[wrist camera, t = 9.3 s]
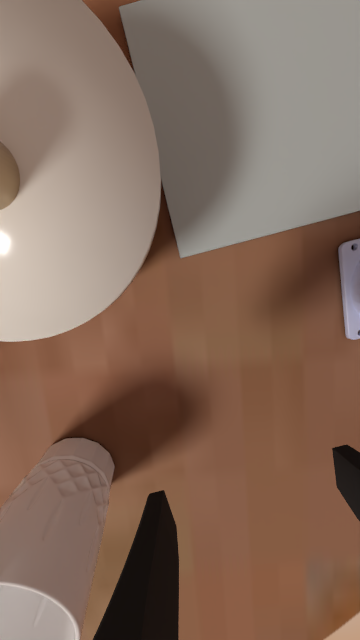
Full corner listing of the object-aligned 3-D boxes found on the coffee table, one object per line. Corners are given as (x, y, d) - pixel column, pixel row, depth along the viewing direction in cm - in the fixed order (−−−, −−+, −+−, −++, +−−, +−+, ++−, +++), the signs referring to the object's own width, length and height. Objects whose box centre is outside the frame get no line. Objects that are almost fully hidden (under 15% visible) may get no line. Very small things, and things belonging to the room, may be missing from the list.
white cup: (38, 424, 20) (-89, 575, 10) (127, 437, 20) (87, 589, 11) (32, 495, 21) (-82, 682, 12) (115, 504, 22) (71, 689, 12)
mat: (357, -53, 14) (363, -63, 13) (371, 207, 17) (376, 206, 16) (120, 14, 14) (118, 6, 13) (180, 258, 17) (180, 258, 17)
